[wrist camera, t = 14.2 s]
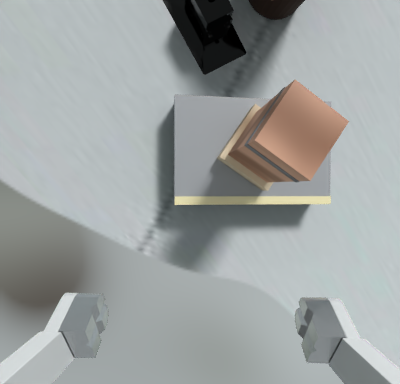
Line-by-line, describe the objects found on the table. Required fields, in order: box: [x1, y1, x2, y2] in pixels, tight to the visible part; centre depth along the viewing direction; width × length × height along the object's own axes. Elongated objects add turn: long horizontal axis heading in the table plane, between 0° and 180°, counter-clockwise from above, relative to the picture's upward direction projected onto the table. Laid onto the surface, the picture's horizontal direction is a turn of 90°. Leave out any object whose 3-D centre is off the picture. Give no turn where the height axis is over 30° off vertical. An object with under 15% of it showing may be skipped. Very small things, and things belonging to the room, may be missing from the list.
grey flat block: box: [174, 95, 331, 205], centre depth 28 cm, size 16×10×3 cm, turn 90°
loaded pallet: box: [217, 80, 349, 191], centre depth 22 cm, size 6×6×9 cm
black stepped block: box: [163, 0, 246, 75], centre depth 26 cm, size 12×7×5 cm, turn 29°
